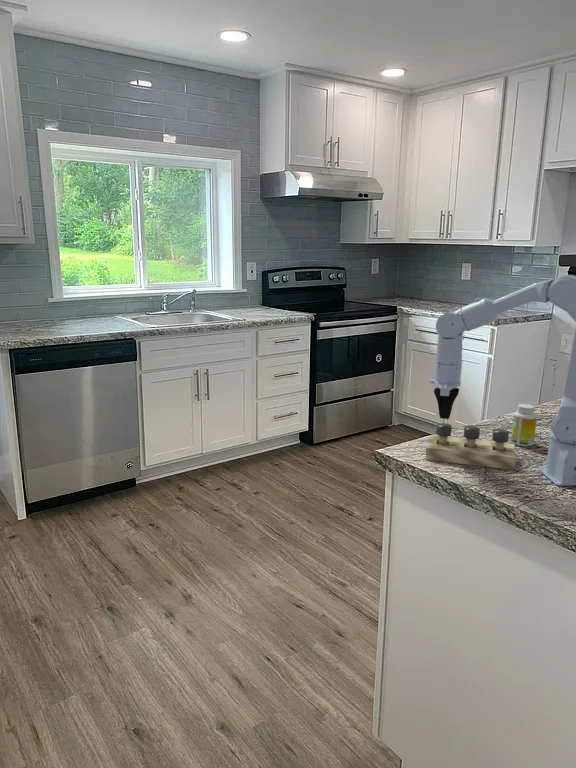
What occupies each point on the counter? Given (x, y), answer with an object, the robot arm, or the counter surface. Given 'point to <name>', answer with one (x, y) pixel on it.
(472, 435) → the knob middle
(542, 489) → the counter surface
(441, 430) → the knob far
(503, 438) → the knob near
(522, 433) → the supplement bottle
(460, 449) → the knob mount
